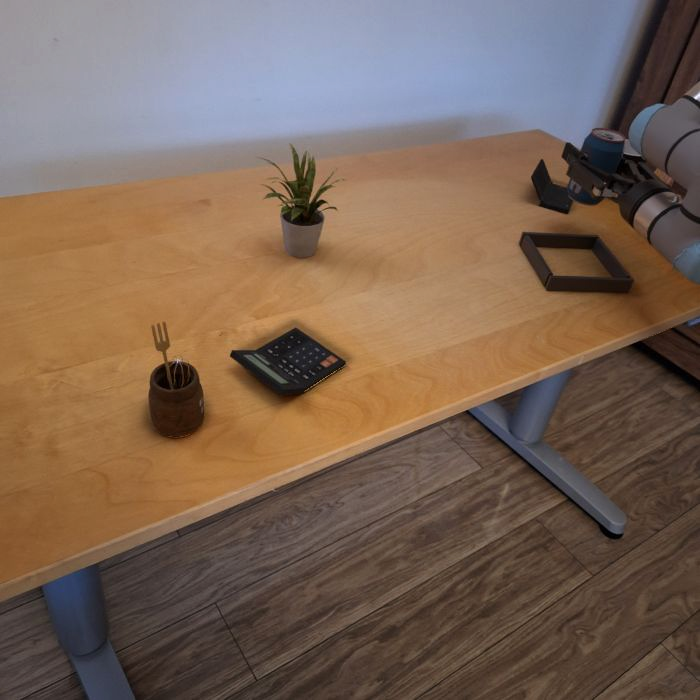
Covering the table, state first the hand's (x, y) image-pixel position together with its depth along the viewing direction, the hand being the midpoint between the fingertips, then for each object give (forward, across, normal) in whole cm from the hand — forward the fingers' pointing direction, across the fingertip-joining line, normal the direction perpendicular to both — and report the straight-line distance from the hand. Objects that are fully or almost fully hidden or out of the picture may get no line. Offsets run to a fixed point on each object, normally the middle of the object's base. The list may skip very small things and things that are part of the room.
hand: (584, 150), depth 112 cm
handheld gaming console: (+9, -2, +14) cm, 17 cm away
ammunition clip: (0, -20, +14) cm, 24 cm away
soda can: (-5, 0, +7) cm, 9 cm away
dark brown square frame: (-17, +6, +14) cm, 23 cm away
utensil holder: (-47, +72, +14) cm, 87 cm away
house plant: (-9, +54, +14) cm, 56 cm away
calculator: (-39, +58, +14) cm, 71 cm away
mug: (+13, -17, +14) cm, 25 cm away
